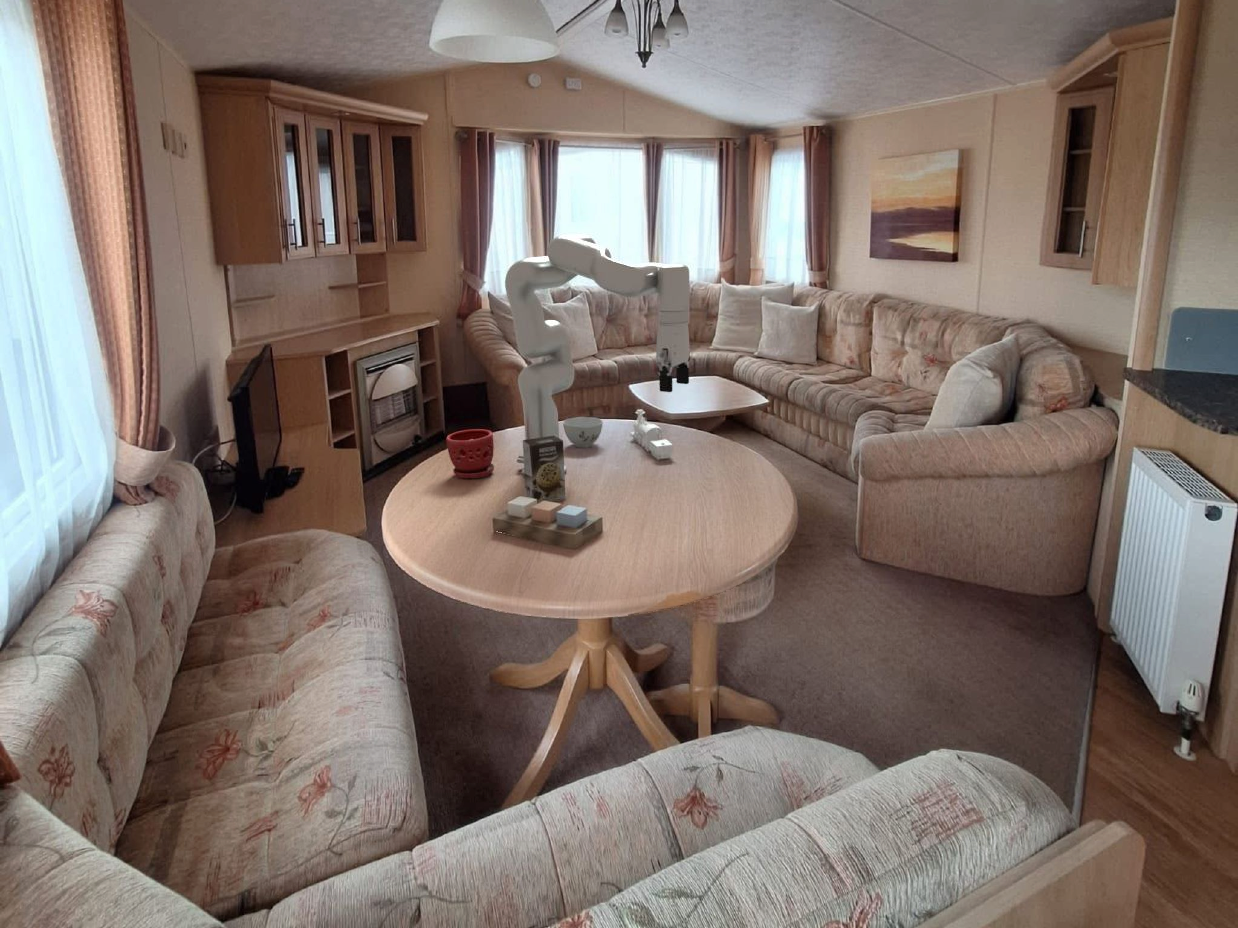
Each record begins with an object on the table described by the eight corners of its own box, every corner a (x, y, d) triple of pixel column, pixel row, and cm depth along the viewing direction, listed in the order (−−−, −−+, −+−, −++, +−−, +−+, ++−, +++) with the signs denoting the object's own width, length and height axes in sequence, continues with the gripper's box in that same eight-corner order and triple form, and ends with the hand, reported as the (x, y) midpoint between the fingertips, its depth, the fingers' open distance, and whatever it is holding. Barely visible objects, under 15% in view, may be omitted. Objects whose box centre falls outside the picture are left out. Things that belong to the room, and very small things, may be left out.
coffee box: (534, 506, 208) (530, 445, 203) (525, 498, 213) (521, 439, 208) (566, 499, 212) (563, 440, 207) (557, 492, 217) (553, 434, 212)
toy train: (644, 434, 269) (643, 405, 266) (676, 460, 242) (675, 427, 239) (626, 436, 268) (625, 407, 265) (655, 462, 240) (654, 429, 237)
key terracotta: (532, 521, 190) (531, 507, 189) (544, 514, 194) (543, 500, 193) (550, 524, 187) (549, 510, 186) (562, 517, 191) (561, 503, 190)
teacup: (606, 449, 254) (605, 424, 251) (566, 452, 252) (565, 427, 249) (599, 436, 268) (598, 413, 265) (561, 439, 266) (560, 415, 264)
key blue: (557, 526, 186) (556, 512, 185) (569, 519, 191) (568, 505, 189) (575, 530, 184) (574, 515, 183) (587, 522, 188) (586, 508, 187)
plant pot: (495, 465, 241) (492, 426, 238) (496, 479, 229) (493, 438, 225) (450, 469, 239) (446, 429, 235) (449, 483, 227) (445, 442, 223)
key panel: (493, 531, 192) (492, 517, 191) (523, 515, 202) (522, 501, 201) (575, 549, 181) (574, 534, 180) (602, 530, 191) (602, 516, 190)
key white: (508, 516, 193) (507, 502, 192) (520, 509, 197) (519, 496, 196) (525, 519, 191) (524, 506, 190) (537, 512, 195) (536, 499, 194)
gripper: (674, 312, 204) (675, 379, 209) (643, 321, 189) (645, 393, 195) (702, 313, 200) (702, 381, 206) (672, 323, 186) (673, 396, 191)
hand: (674, 387), depth 200 cm, fingers open, 9 cm apart
